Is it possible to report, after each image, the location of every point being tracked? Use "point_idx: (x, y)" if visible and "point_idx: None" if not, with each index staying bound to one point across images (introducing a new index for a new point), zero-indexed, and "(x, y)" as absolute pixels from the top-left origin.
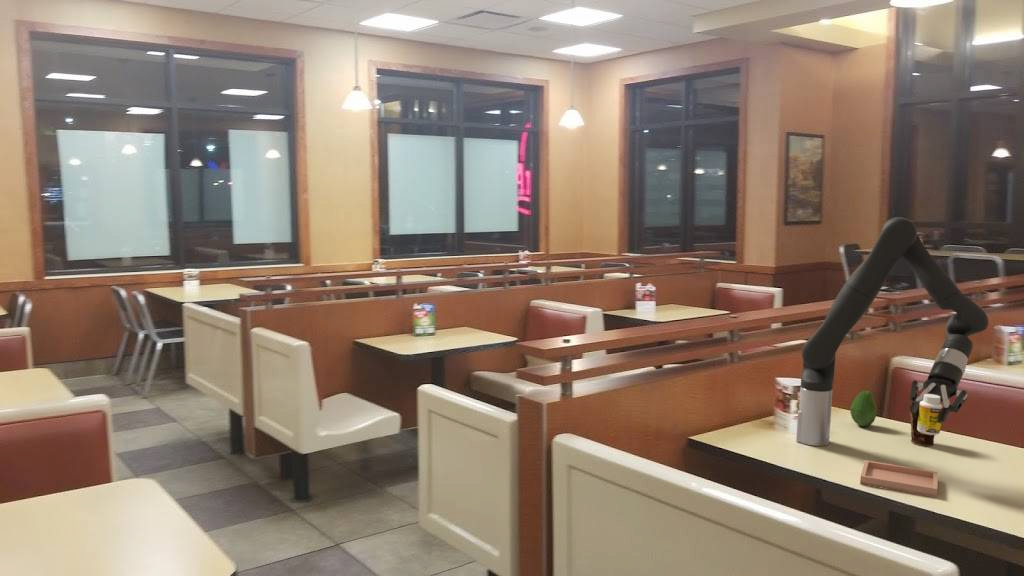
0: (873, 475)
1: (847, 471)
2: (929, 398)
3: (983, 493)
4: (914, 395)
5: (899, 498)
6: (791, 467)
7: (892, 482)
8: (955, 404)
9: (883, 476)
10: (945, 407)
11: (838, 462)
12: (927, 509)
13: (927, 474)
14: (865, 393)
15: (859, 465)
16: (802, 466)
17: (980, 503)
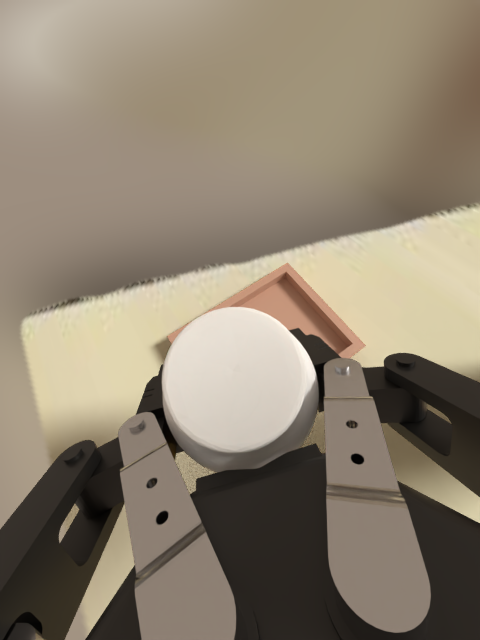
0: (301, 314)
1: (350, 302)
2: (216, 312)
3: None
4: (402, 375)
5: (207, 281)
6: (399, 230)
7: (239, 292)
8: (61, 469)
9: (289, 329)
10: (141, 414)
11: (406, 328)
12: (154, 283)
13: None
14: None
15: (376, 355)
16: (399, 249)
17: (106, 398)
